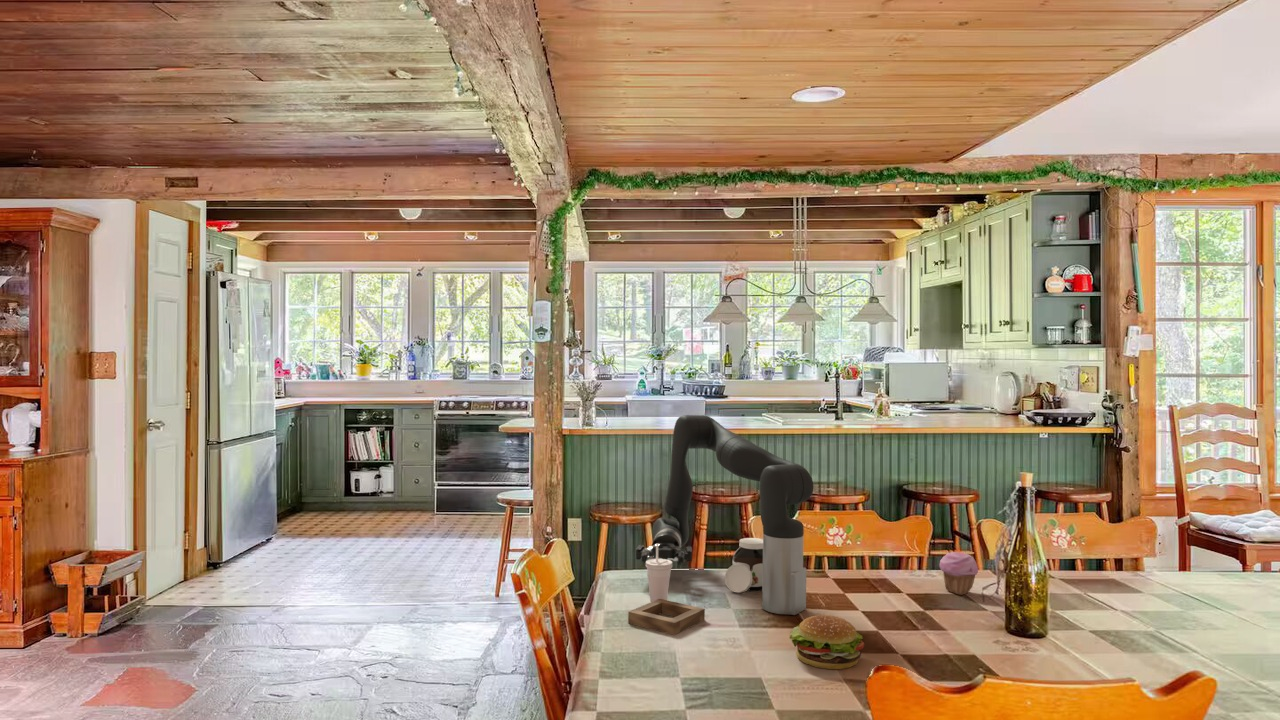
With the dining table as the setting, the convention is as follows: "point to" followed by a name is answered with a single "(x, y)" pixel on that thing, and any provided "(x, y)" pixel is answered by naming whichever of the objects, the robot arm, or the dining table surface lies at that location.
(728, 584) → the spread jar
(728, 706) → the dining table surface
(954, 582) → the cupcake
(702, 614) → the walnut socket block
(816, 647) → the food
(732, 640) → the dining table surface
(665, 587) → the smoothie
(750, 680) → the dining table surface
